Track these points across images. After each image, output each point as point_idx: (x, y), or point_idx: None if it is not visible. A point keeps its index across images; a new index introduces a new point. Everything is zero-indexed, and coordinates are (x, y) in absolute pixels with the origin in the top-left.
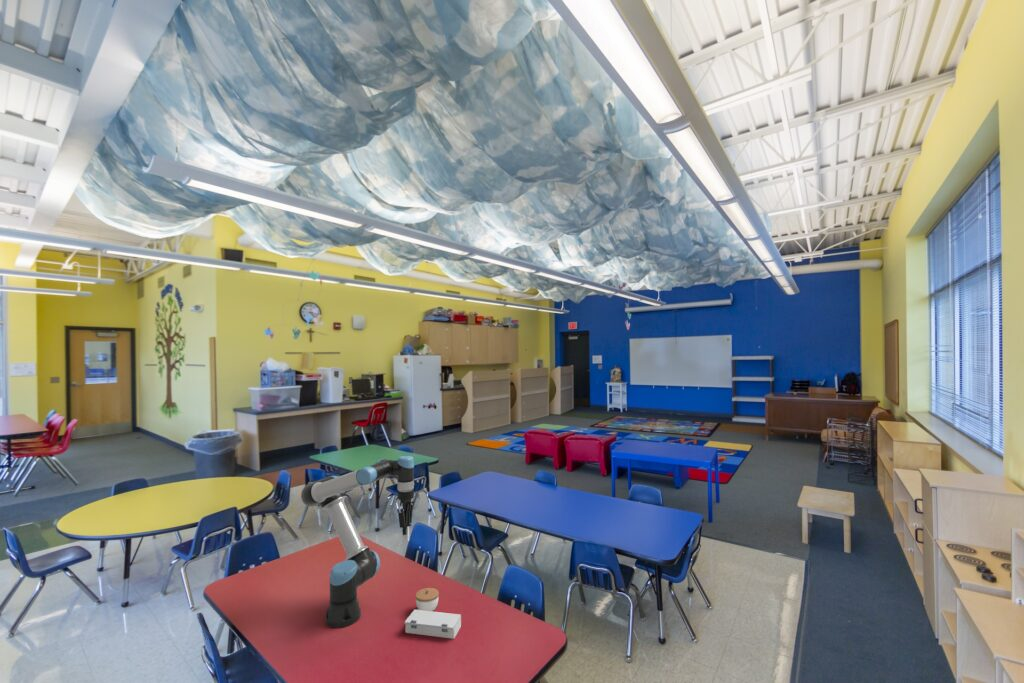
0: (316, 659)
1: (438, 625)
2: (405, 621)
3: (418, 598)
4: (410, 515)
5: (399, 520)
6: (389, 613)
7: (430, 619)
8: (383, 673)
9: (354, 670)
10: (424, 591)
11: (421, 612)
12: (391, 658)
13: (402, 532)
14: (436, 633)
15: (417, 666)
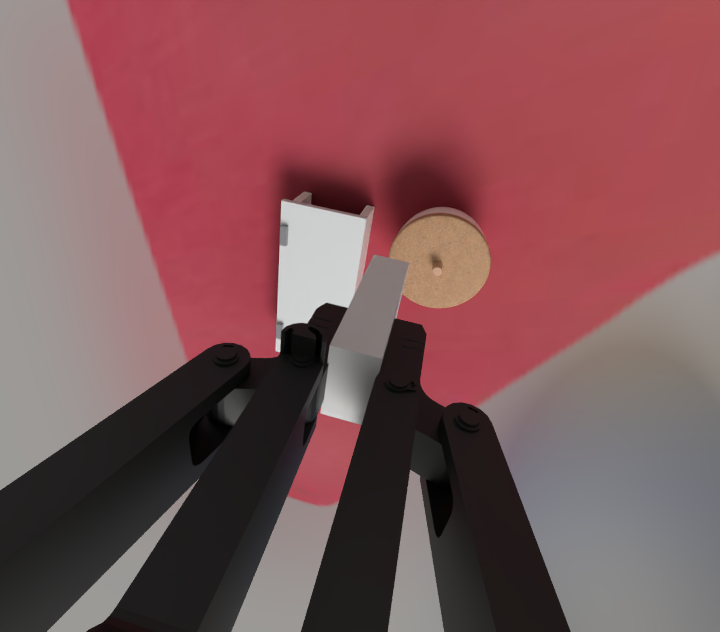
0: None
1: (280, 313)
2: (285, 203)
3: (398, 235)
4: (443, 595)
5: (87, 440)
6: (428, 77)
7: (307, 286)
8: (129, 178)
9: (107, 78)
10: (453, 251)
11: (346, 249)
12: (184, 181)
13: (351, 302)
14: None
15: (178, 260)
